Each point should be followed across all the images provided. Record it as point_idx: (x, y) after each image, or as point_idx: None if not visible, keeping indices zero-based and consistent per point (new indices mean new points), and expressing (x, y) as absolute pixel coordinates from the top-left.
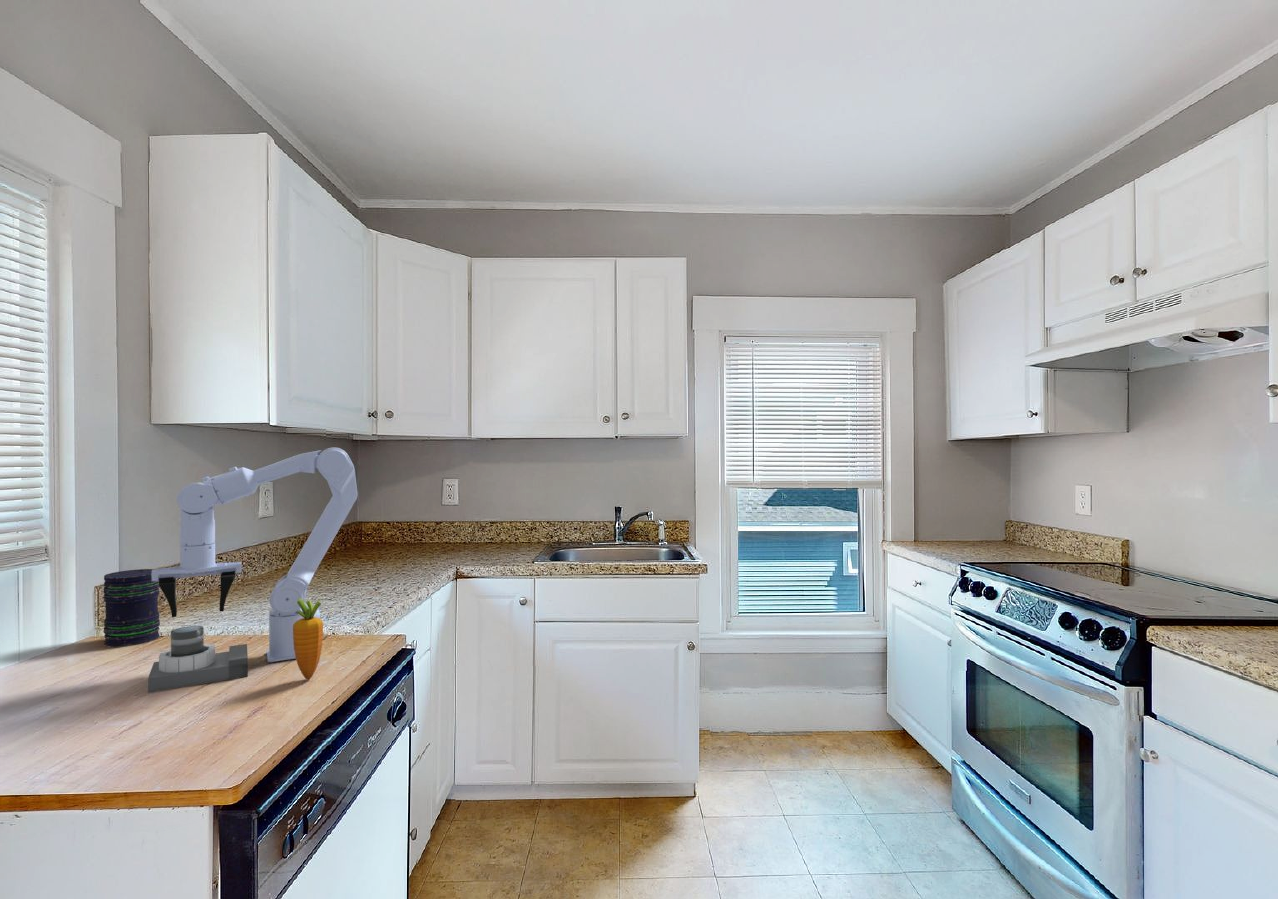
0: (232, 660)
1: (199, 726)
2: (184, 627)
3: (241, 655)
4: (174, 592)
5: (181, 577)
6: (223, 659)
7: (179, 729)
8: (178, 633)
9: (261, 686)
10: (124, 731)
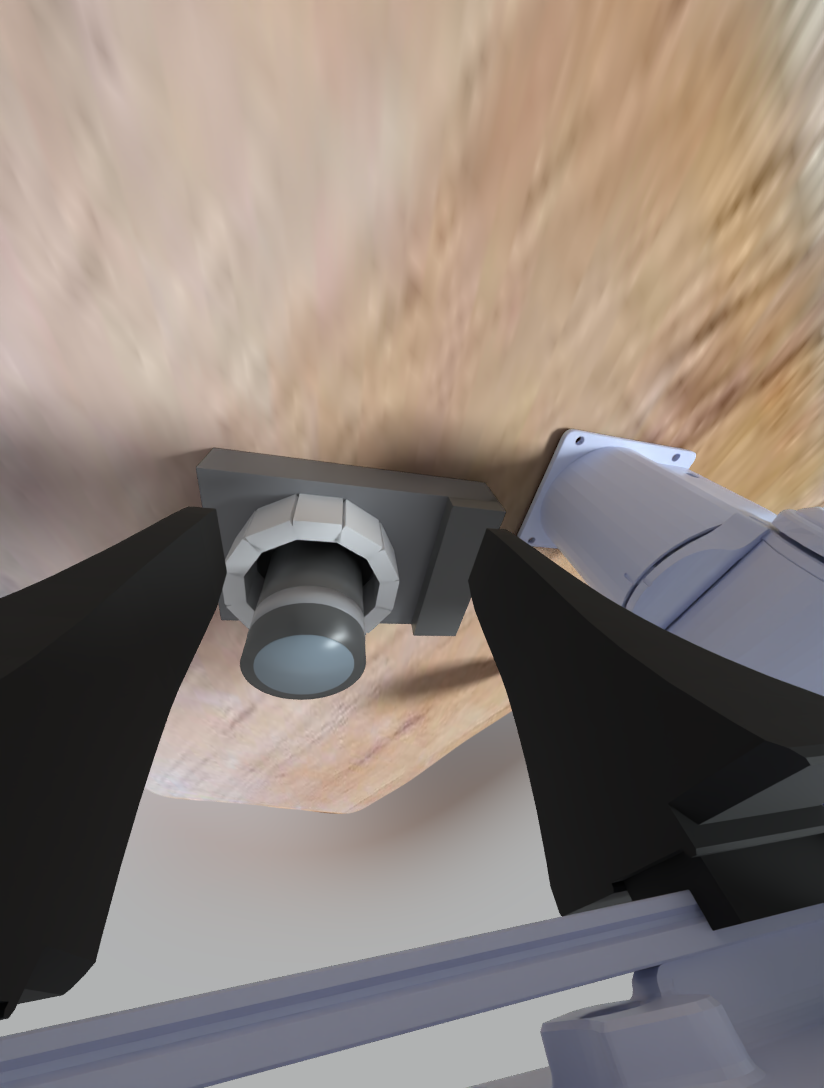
0: (421, 635)
1: (336, 738)
2: (291, 641)
3: (450, 614)
4: (138, 804)
5: (86, 1037)
6: (412, 571)
7: (311, 737)
8: (275, 695)
9: (445, 656)
10: (235, 723)
